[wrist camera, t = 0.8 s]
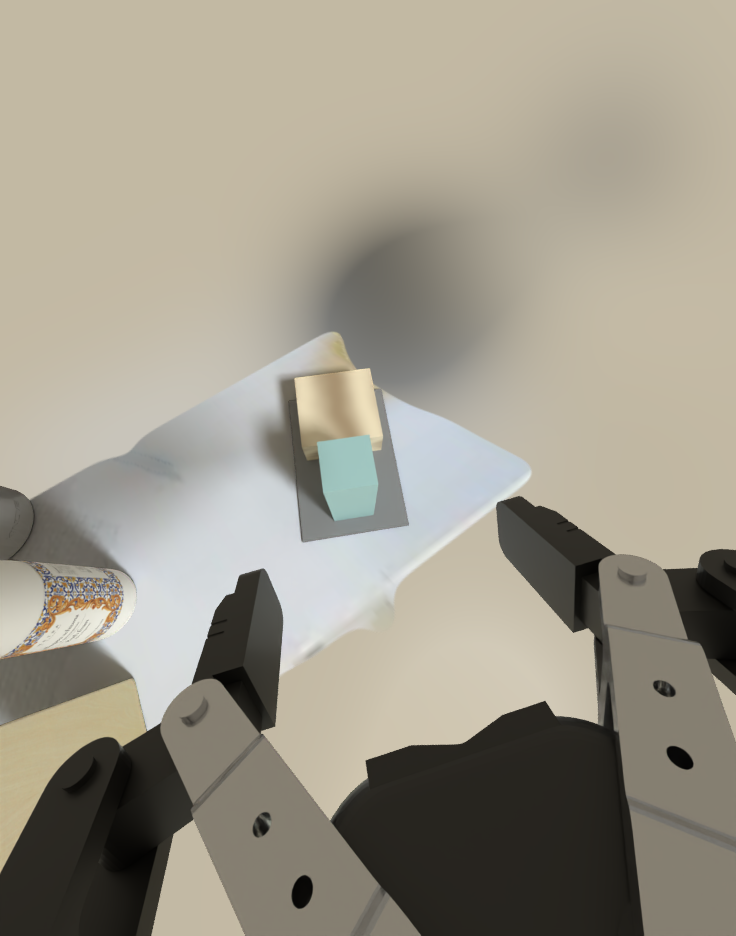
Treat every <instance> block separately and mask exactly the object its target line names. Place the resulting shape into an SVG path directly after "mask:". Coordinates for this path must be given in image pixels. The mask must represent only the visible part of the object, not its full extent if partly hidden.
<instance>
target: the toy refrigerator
mask: <svg viewBox="0 0 736 936" xmlns="http://www.w3.org/2000/svg"><path fill="white" fill-rule="evenodd" d="M146 732H147V731H146V727H145V722H144V718H143V714H142V710H141V706H140V701H139V696H138V692H137V688H136V684H135V681H134V680H133V679H132V678H131V679H128V680H125V681H122V682H119V683H116V684H114V685H111V686H108V687H105V688H102V689H100V690H97V691H94V692H91V693H88V694H86V695H83V696H80V697H77V698H74V699H72V700H69V701H66V702H63V703H61V704H58V705H55V706H52V707H50V708H47V709H44V710H41V711H38V712H35V713H33V714H30V715H27V716H25V717H22V718H19V719H16V720H13V721H11V722H8V723H5V724H2V725H0V873H1V871H2V869H3V867H4V865H5V863H6V861H7V859H8V857H9V855H10V854H11V852H12V850H13V848H14V846H15V844H16V842H17V840H18V838H19V836H20V835H21V833H22V831H23V829H24V827H25V825H26V823H27V821H28V819H29V817H30V816H31V814H32V812H33V810H34V808H35V806H36V804H37V802H38V800H39V798H40V797H41V795H42V793H43V791H44V789H45V787H46V786H47V784H48V782H49V781H50V779H51V778H52V776H53V775H54V774H55V772H56V771H57V770H58V769H59V768H60V766H61V765H62V764H63V763H64V762H65V761H66V760H67V759H68V758H69V757H71V756H72V755H73V754H74V753H75V752H77V751H78V750H79V749H80V748H82V747H83V746H85V745H87V744H88V743H90V742H92V741H94V740H96V739H99V738H103V737H112V738H114V739H116V740H117V741H118V742H119V744H120V745H121V746H124V745H126V744H127V743H129V742H131V741H132V740H134V739H136V738H137V737H139V736H141V735H142V734H144V733H146Z"/></svg>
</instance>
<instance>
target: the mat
mask: <svg viewBox="0 0 736 936" xmlns="http://www.w3.org/2000/svg"><path fill="white" fill-rule="evenodd" d="M374 392H375V397H376V402H377V407H378V413H379V418H380V423H381V428H382V433H383V441H382V448H381V450H377V451H372V452H373V457H374V463H375V468H376V474H377V479H378V490H377V497H376V503H375V509H374V515H370V516H364V517H357V518H351V519H345V520H338V521H334V519H333V516H332V514H331V511H330V509H329V506H328V503H327V501H326V498H325V496H324V493H323V486H322V478H321V470H320V462H319V459H316V460H309V461H307V459H306V456H305V454H304V451H303V449H302V444H301V434H300V425H299V416H298V407H297V400H292V401H289V409H290V419H291V429H292V439H293V449H294V459H295V469H296V479H297V489H298V499H299V509H300V519H301V529H302V539H303V542H308V541H315V540H321V539H327V538H333V537H339V536H345V535H352V534H358V533H364V532H370V531H376V530H382V529H389V528H395V527H401V526H407V525H409V523H408V518H407V513H406V508H405V503H404V498H403V493H402V489H401V484H400V479H399V474H398V469H397V464H396V459H395V454H394V449H393V444H392V439H391V435H390V430H389V425H388V420H387V415H386V410H385V405H384V400H383V395H382V390H381V389H375V390H374Z"/></svg>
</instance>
